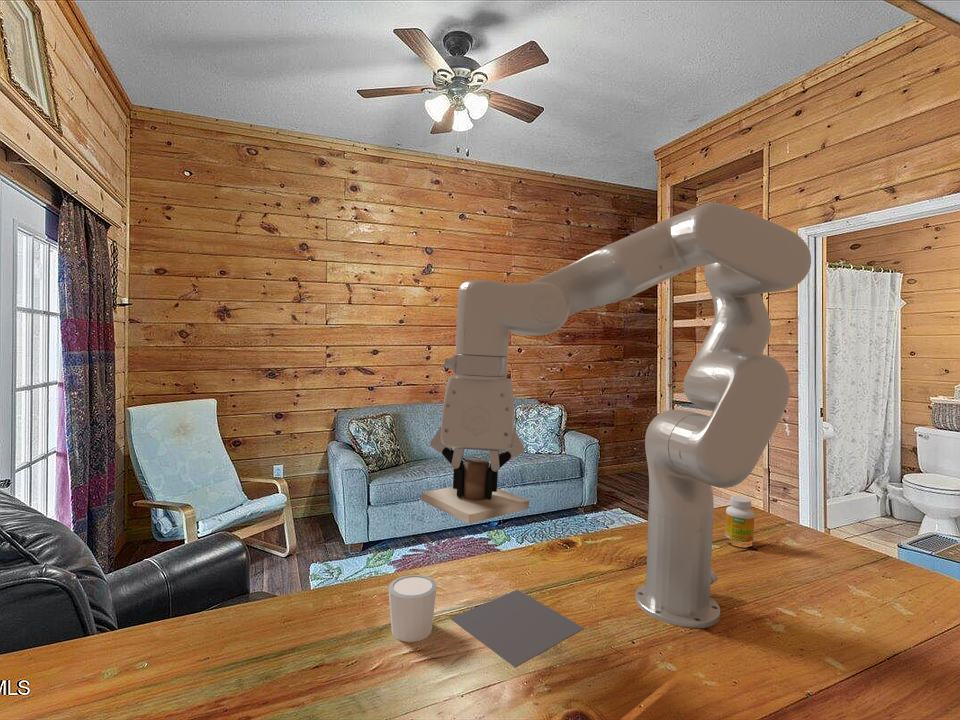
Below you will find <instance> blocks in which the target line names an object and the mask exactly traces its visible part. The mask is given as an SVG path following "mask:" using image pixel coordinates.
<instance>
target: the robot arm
mask: <svg viewBox="0 0 960 720" xmlns="http://www.w3.org/2000/svg"><path fill="white" fill-rule="evenodd" d="M811 264H812V256H811V251H810V249H809V246H808V244H807V243H806V241H805V240H803V239H802V237H801V236H800V235H798V234H797V233H796V232H794V231H793V230H790V229H788V228H786V227H784V226H782V225H780V224H777V223H775V222H773V221H771V220H768V219H765V218H763V217H762V216H759V215H757V214H754V213H753V212H751V211H747V210H745V209H743V208H740V207H737V206H734V205H730V204H727V203H722V202H707V203H704V204H701V205H699V206H696V207H693V208H691V209H688V210H686V211H683V212H681V213H678V214H677V215H674V216H671V217H668V218H666V219H664V220H662V221H660V222H656V223H655V224H652V225H651V226H648V227H646V228H644V229H642V230H638V231H637V232H635V233H632V234H630V235H628V236H625V237H623V238H621V239H619V240H617V241H614V242H612V243H609V244H607V245H604V246H603V247H601V248H598V249H596V250H595V251H593V252H591V253H589V254H587V255H585V256H584V257H581V258H579V259H578V260H576V261H574V262H573V263H570V264H568V265H566V266H564V267H562V268H560V269H557V270H555V271H552V272H551V273H548V274H546V275H544V276H541V277H539V278H537V279H535V280H533V281H530V282H519V283H518V282H517V283H511V282H510V283H505V282H502V281H498V280H489V279H472V280H467V281H464V282H462V283H461V284H460V286H459V288H458V292H457V309H456V311H457V312H456V328H455V329H456V333H455V352H454V353H455V354H454V356H452V357H450V358H448V357H446V358H444V368H448V369H451V370H452V371H453V375H451V376H450V375H449V376H448V378H447V382H446V385H445V392H444V398H443V405H442V412H441V413H442V415H441V426H440V428H439V429H438V430H437V432H436V433H435V435H434V436H433V438H432V439H431V440H430V442H429V446H430V447H431V448H432V449H434V450H435V451H436V452H438V453H440V454H441V455H442V456H443V457H444V458H445V459H446V460H447V461H448V462H449V464H450V465H451V467H452V468H453V475H452V477H453V478H452V479H453V480H452V487H453V489H457V497H461V496H462V495H463V477H464V460H463V459H464V458H463V457H464V453H465V450H475V451H476V450H477V451H488V452H489V459H490V461H489V470H488V471H487V489H486V498H487V499H491V497H492V492H497V488H498V479H499V470H500V469H501V468H502V467H503V466H504V465H506V464H507V463H508V462H509V461H510V460H511V459H513V458H515V457H518V456H519V455H521V454H523V453H524V452H525V445H524V444H523V441H522V440H521V438H520V436H519V435H518V433H517V431H516V429H515V427H514V426H515V425H514V424H515V420H514V419H515V409H514V408H515V403H514V401H515V400H514V386H513V381H512V379H510V378H507V377H508V359H509V358H508V356H509V355H508V354H509V339H510V338H509V337H510V333H512V334H515V335H518V336H523V337H524V336H531V337H532V336H534V337H535V336H537V337H539V336H547V335H550V334H553V333H555V332H556V331H558V330H559V329H561V328H562V327H563V326H564V324H565V323H566V322H567V320H568V317H569V316H571V315H574V314H576V313H580V312H582V311H585V310H589V309H592V308H595V307H600V306H606V305H610V304H613V303H614V304H615V303H616V302H619V301H622V300H626V299H629V298H631V297H634V296H635V295H637V294H639V293H642V292H644V291H646V290H648V289H649V288H652V287H654V286H656V285H658V284H661V283H662V282H665V281H667V280H670V279H672V278H674V277H676V276H678V275H679V274H682V273H685V272H686V271H689V270H692V269H694V268H698V267H704V281H705V284H706V287H707V290H708V291H709V294H710V296H711V299H712V302H713V307H714V308H713V309H714V317H713V321H712V324H711V326H710V328H709V329H708V333H707V334H706V336H705V338H704V340H703V341H702V343H701V346H699V349H698V350H697V353H696V354H695V356H694V358H693V359H692V362H691V364H689V365H690V366H689V368H688V370H687V372H686V373H685V376H684V380H683V383H682V384H683V392H684V396H685V397H686V398H687V400H688V402H691V403H692V404H693V405H695V406H697V407H699V408H702V409H704V410H707V411H712V413H711V415H706V414H702V413H699V412H694V411H690V410H686V409H685V410H684V409H669V410H666V411H663V412H660V413H658V414H657V415H656V416H655V417H653V419H652V420H651V421H650V423H649V425H648V426H647V429H646V432H645V437H644V438H645V439H644V447H645V456H646V461H647V463H646V464H647V468H648V469H647V470H648V471H647V472H648V484H649V486H648V487H649V488H648V489H649V490H648V492H649V493H648V512H647V515H648V516H647V543H646V545H647V546H646V570H645V571H646V575H645V576H646V577H645V583H643V584H642V585H641V586H639V587H637V589H636V590H635V602H636V604H637V606H638V607H639V608H640V609H641V610H642V611H643V612H644V613H646V614H647V615H649V616H650V617H652V618H654V619H656V620H658V621H661V622H663V623H666V624H668V625H672V626H676V627H681V628H689V629H691V628H692V629H693V628H694V629H697V628H698V629H700V628H702V629H706V627H707V628H710V627H709V626H711V627H713V626H715V625H716V624H717V623H718V622H719V621H720V619H721V607H720V605H719V604H718V603H717V601H716V600H715V599H714V598H713V597H712V596H711V586H712V585H713V584H714V583H716V582H717V581H718V575H717V573H716V572H715V571H714V570H712V555H713V554H712V553H713V552H712V551H713V530H714V528H713V527H714V513H715V512H714V511H715V510H714V507H715V506H714V505H715V503H714V494H713V488H712V487H715V488H720V489H727V488H732V487H735V486H737V485H739V484H741V483H742V482H744V481H745V480H746V479H747V478H748V477H749V476H750V474H751V473H752V472H753V470H754V468H755V467H756V466H757V464H758V461H759V460H760V458H761V457H762V455H763V452H764V451H765V449H766V447H767V445H768V443H769V441H770V439H771V437H772V435H773V434H774V432H775V430H776V428H777V427H778V424H779V422H780V421H781V418H782V417H783V414H784V412H785V410H786V408H787V405H788V403H789V397H790V389H791V387H790V379H789V374H788V372H787V371H786V368H785V367H784V366H783V364H782V363H781V362H779V361H778V360H777V359H775V358H773V357H772V356H770V355H767V354H763V353H764V351H765V348H766V346H767V344H768V342H769V340H770V339H769V338H770V336H771V330H772V323H771V319H770V315H769V312H768V310H767V308H766V304H765V302H764V300H763V297H762V295H761V294H768V293H777V292H778V293H779V292H783V291H787V290H789V289H792V288H794V287H796V286H797V285H799V284H800V283H801V282H803V280H804V279H805V278H806V277H807V276H808V274H809V271H810V269H811ZM500 452H502V453H500ZM719 618H720V619H719ZM718 620H719V621H718ZM715 623H716V624H715ZM714 624H715V625H714ZM712 625H713V626H712Z"/></svg>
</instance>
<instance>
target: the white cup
mask: <svg viewBox="0 0 960 720" xmlns="http://www.w3.org/2000/svg"><path fill="white" fill-rule="evenodd" d="M387 588H388V589H387V591H388V598H389V599H388V600H389V614H390V616H389V617H390V626H391V633H392V636H393V638H395V639H397V640H398V641H401V642H405V643H406V642H407V643H415V642H419V641H422V640H425V639H426V638H428V637H429V636H430V635H431V633H432V630H433V623H434V620H433V619H434V614H435V603H436V594H437V583H436V581H435V579H432V578H431V577H430V576H426V575H421V574H410V575H403V576H400V577H398V578H395V579H394V580H392V581H391V582H390V583H389V585H388V587H387Z"/></svg>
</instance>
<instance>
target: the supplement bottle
mask: <svg viewBox="0 0 960 720" xmlns="http://www.w3.org/2000/svg"><path fill="white" fill-rule="evenodd" d="M729 504H730V505H729V506H727V507H726V508H725V509H726V510H725V525H724V526H725V527H724V537H725V536H726V537H727V538H729V539H731V540H735V541H741V542H750V541H753V542H754V534H755V533H754V532H755V531H754V530H755V512H754V511H753V510H752V509H751V507H752V499H750V498H749V497H745V496H739V495H731V496H730V497H729Z"/></svg>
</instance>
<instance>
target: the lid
mask: <svg viewBox="0 0 960 720" xmlns="http://www.w3.org/2000/svg"><path fill="white" fill-rule="evenodd" d="M463 462H464V477H463V495H462V496H461V497H457V489H453V486H449V487H444V488H439V489H438V488H437V489H434V490H427V491H422V492H421V501H422V502H423V503H425V504H426V505H427V504H428V505H429V506H432V507H434V508H436V509H438V510H439V511H442V512H444V513H446V514H448V515H450V516H452V517H454V518H456V519H458V520H460V521H462V522H463V523H465V524H468V525H471V524H474V523H477V522H483V521H486V520H490V519H494V518H498V517H500V516H506V515H509V514H513V513H517V512H522V511H526V510H529V509H530V500H529V499H527V498H525V497H524V498H523V497H521V496H518V495H515V494H513V493H511V492H508V491H506V490H502V489H500V488H498V487H497V492H492V497H491V499H487V498H486V489H487V471H488V470H489V466H490V461H488V460H487V459H481V458H470V459H469V458H468V459H465V460H463Z"/></svg>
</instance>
